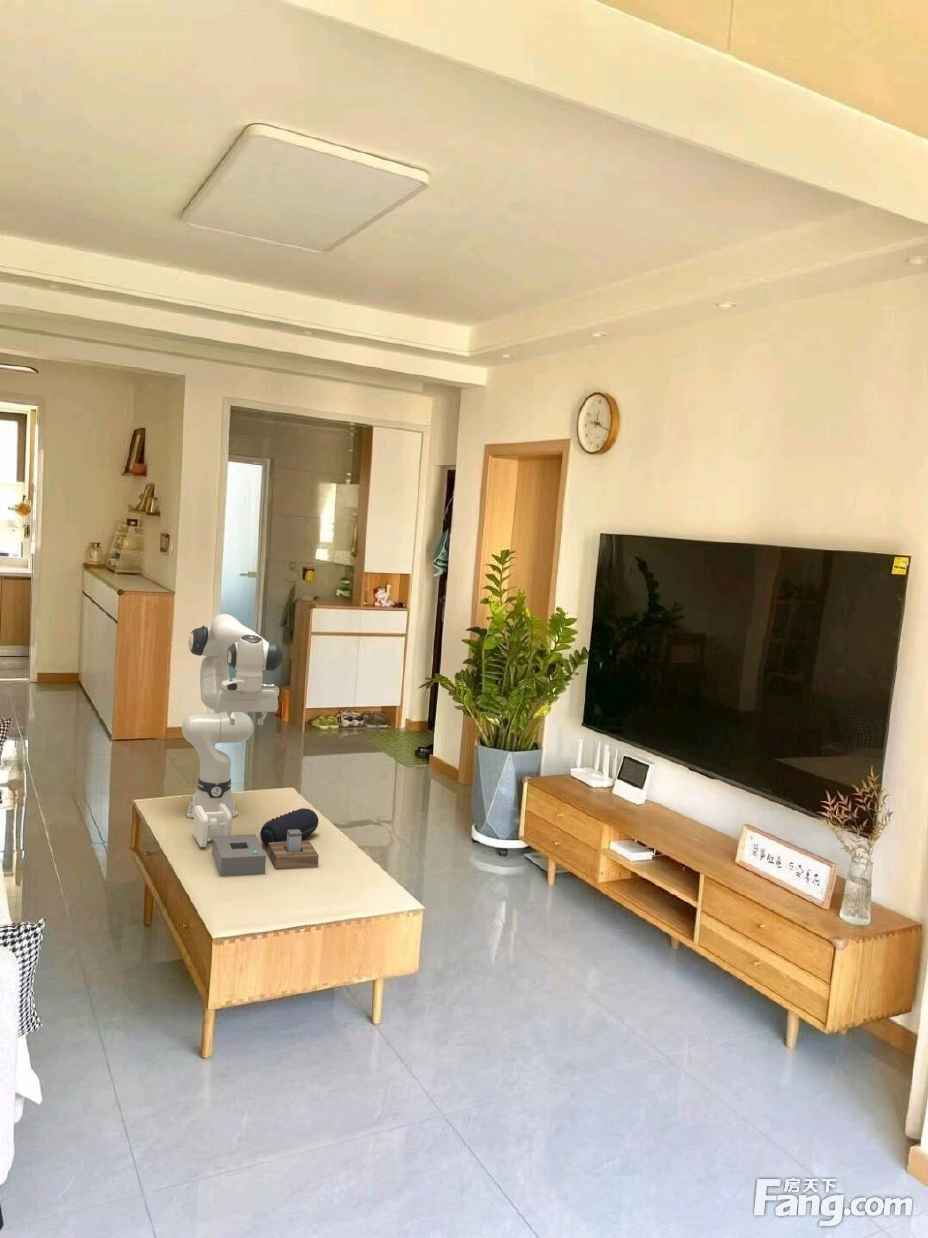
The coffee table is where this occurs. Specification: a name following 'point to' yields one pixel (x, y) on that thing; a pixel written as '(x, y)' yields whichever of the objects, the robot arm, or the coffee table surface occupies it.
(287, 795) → the coffee table surface
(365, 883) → the coffee table surface
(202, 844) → the cable organizer
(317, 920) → the coffee table surface
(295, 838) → the plug
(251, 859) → the port box
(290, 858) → the square wooden frame
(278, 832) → the portable speaker
